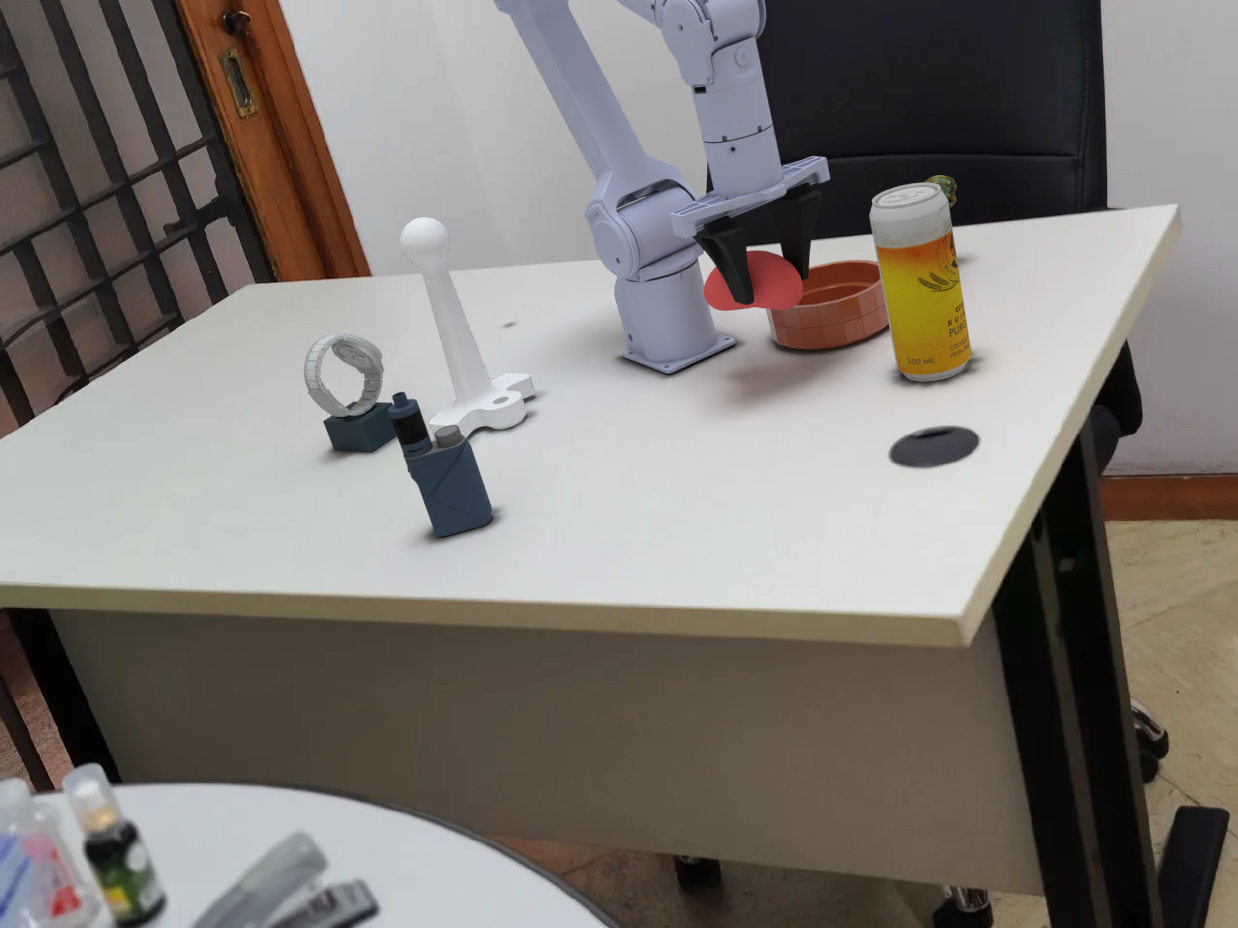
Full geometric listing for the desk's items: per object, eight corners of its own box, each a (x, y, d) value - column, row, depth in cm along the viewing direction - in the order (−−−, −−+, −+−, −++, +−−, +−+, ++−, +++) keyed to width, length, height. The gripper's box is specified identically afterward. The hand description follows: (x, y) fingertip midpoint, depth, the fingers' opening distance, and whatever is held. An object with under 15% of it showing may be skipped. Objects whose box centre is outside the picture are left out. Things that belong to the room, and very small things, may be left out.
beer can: (974, 377, 103) (946, 197, 97) (897, 389, 105) (865, 212, 99) (971, 348, 108) (944, 175, 102) (898, 360, 110) (867, 190, 104)
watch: (415, 422, 127) (379, 319, 123) (359, 460, 121) (319, 354, 117) (376, 420, 130) (339, 320, 126) (320, 458, 125) (279, 354, 120)
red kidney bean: (763, 299, 116) (713, 253, 115) (824, 270, 109) (772, 220, 107) (737, 341, 114) (686, 295, 112) (798, 315, 106) (744, 264, 105)
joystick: (507, 392, 128) (445, 198, 120) (561, 397, 123) (500, 195, 115) (427, 444, 121) (355, 241, 113) (481, 450, 116) (410, 239, 108)
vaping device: (432, 526, 104) (384, 393, 99) (495, 509, 104) (449, 375, 99) (430, 541, 102) (381, 405, 97) (494, 523, 102) (448, 386, 97)
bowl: (749, 340, 124) (739, 296, 122) (844, 296, 128) (835, 253, 126) (823, 363, 114) (814, 315, 112) (923, 315, 118) (915, 268, 116)
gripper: (688, 164, 98) (727, 329, 103) (839, 105, 103) (868, 266, 108) (643, 158, 104) (681, 315, 109) (788, 103, 109) (818, 255, 114)
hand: (771, 290), depth 109 cm, fingers closed on red kidney bean, 5 cm apart
